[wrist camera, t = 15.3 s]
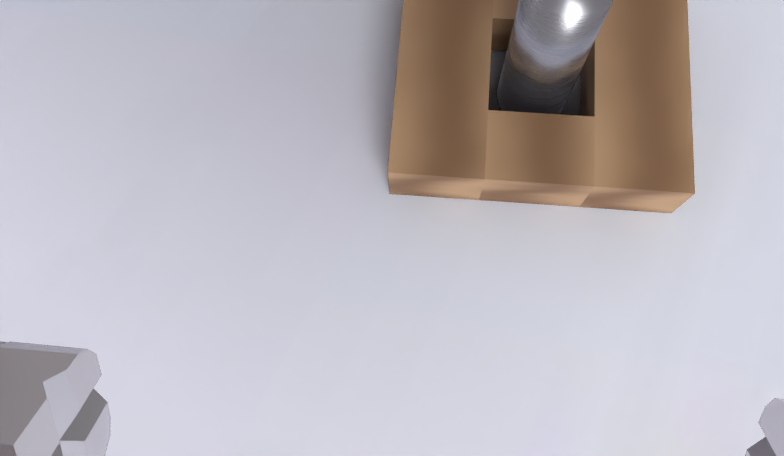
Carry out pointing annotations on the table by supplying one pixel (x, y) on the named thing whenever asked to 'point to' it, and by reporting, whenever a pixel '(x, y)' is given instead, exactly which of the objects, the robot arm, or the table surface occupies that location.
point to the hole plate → (538, 130)
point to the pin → (548, 52)
